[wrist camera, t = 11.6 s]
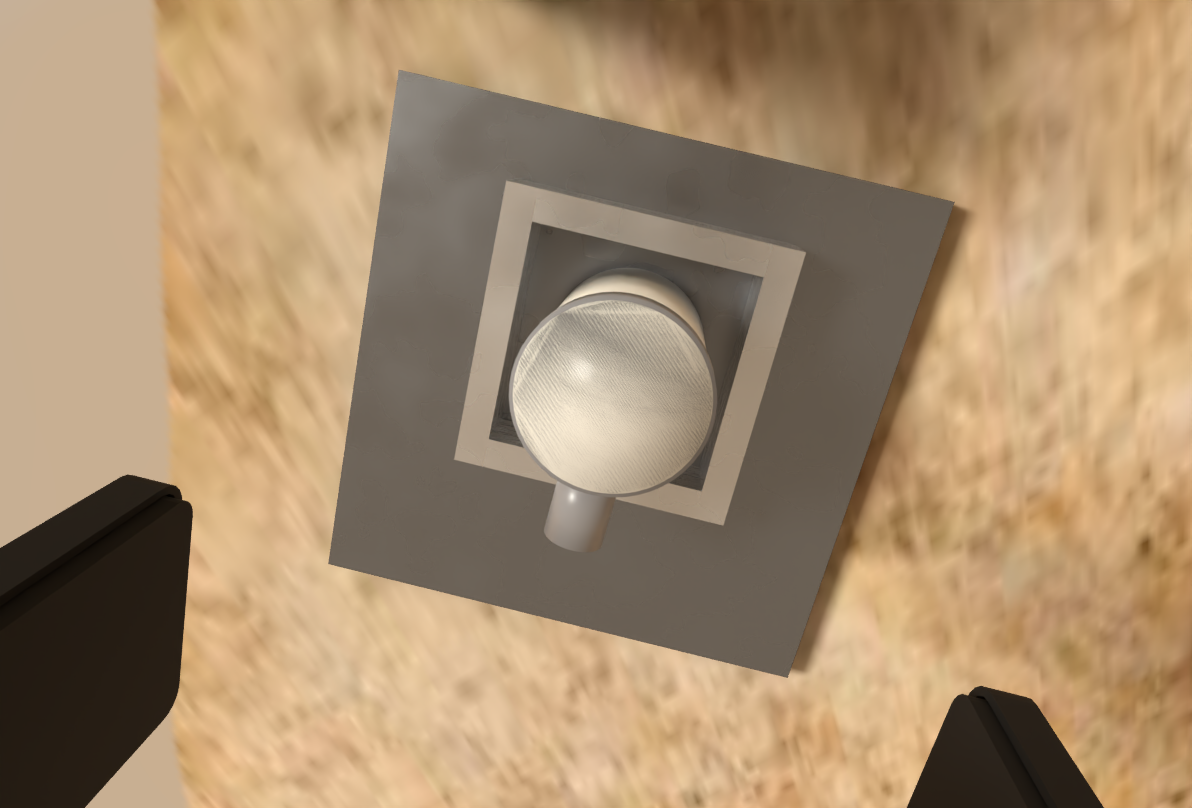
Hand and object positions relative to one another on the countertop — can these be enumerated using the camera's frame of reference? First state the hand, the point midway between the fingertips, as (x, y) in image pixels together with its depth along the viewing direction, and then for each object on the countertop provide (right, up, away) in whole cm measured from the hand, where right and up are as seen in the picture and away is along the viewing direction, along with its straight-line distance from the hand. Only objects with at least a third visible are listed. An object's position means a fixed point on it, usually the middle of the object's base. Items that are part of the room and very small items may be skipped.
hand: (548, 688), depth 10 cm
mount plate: (+1, +4, +20) cm, 20 cm away
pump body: (+1, +4, +19) cm, 19 cm away
